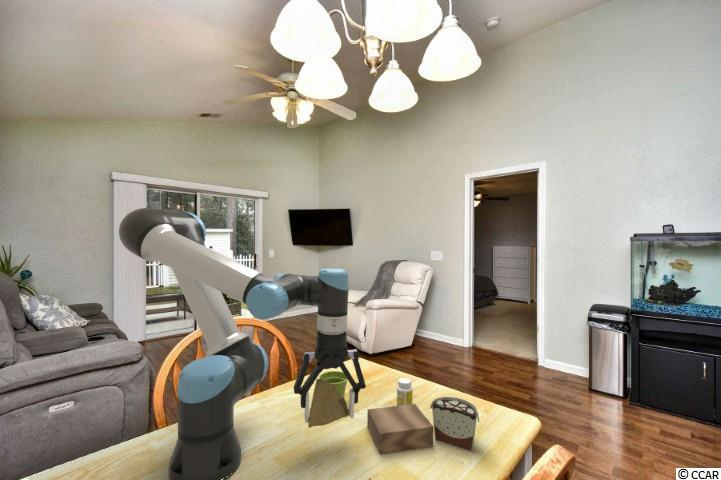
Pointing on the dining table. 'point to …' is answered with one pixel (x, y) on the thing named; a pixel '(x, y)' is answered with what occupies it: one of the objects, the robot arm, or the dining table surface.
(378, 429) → the walnut block
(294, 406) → the dining table surface
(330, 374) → the plant pot
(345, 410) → the rock
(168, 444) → the dining table surface
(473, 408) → the food container
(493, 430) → the dining table surface
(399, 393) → the supplement bottle
